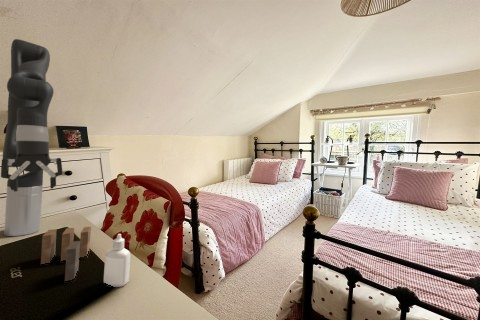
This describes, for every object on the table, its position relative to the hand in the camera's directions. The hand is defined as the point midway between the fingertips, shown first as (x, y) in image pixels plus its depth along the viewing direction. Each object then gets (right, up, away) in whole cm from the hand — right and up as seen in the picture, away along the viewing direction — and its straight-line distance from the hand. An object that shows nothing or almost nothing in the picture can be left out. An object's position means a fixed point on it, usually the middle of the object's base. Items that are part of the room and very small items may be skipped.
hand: (34, 189), depth 69 cm
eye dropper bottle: (+37, -21, -17) cm, 46 cm away
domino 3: (+20, -19, -5) cm, 28 cm away
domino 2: (+17, -19, -7) cm, 26 cm away
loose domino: (+25, -20, -16) cm, 36 cm away
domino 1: (+13, -19, -9) cm, 25 cm away
